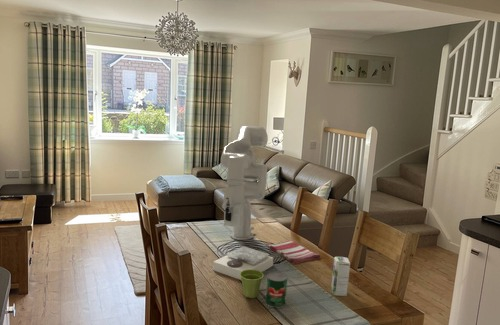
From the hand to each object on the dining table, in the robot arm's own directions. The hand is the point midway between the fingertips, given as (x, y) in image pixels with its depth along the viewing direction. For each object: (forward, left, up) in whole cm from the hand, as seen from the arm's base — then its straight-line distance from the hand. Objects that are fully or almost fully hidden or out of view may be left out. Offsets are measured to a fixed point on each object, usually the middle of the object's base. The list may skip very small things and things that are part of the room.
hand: (233, 218), depth 197 cm
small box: (0, 0, -3) cm, 3 cm away
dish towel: (-27, +19, -21) cm, 39 cm away
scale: (+5, +10, -20) cm, 23 cm away
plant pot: (+24, +27, -20) cm, 42 cm away
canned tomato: (+23, +38, -20) cm, 49 cm away
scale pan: (+1, +10, -15) cm, 19 cm away
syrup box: (-1, +54, -20) cm, 58 cm away
